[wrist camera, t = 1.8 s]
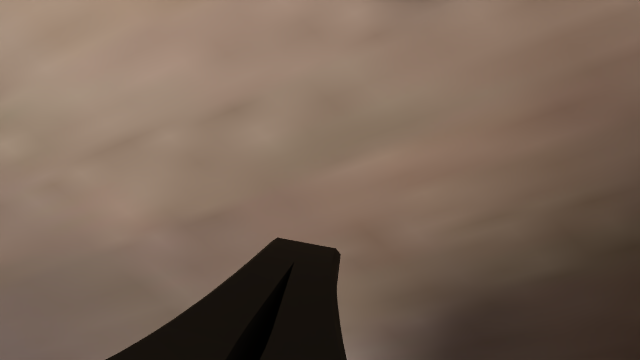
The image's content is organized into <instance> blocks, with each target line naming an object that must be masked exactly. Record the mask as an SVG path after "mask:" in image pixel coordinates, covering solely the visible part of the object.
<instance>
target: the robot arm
mask: <svg viewBox="0 0 640 360" xmlns="http://www.w3.org/2000/svg"><path fill="white" fill-rule="evenodd" d="M340 255H341V254H340V253H339V252H338V251H337V249H336V248H330V247H325V246H319V245H314V244H309V243H303V242H298V241H293V240H287V239H282V238H276V239H275V240H273V241H272V242H271V243H269V244H268V245H267V246H266V247H265V248H264V249H263V250H261V251H260V252H259V253H258V254H257V255H256V256H255V257H253V258H252V259H251V260H250V261H249V262H248V263H246V264H245V265H244V266H243V267H242V268H241V269H239V270H238V271H237V272H236V273H235V274H233V275H232V276H231V277H230V278H228V279H227V280H226V281H224V282H223V283H222V284H221V285H219V286H218V287H217V288H216V289H214V290H213V291H212V292H211V293H209V294H208V295H207V296H205V297H204V298H203V299H201V300H200V301H198V302H197V303H196V304H194V305H193V306H191V307H190V308H189V309H187V310H186V311H184V312H183V313H181V314H180V315H179V316H177V317H176V318H174V319H173V320H172V321H170V322H169V323H167V324H165V325H164V326H162V327H161V328H159V329H158V330H156V331H155V332H153V333H151V334H150V335H148V336H147V337H145V338H143V339H142V340H140V341H138V342H137V343H135V344H133V345H131V346H130V347H128V348H126V349H125V350H123V351H121V352H119V353H117V354H116V355H114V356H112V357H110V358H108V359H106V360H347V359H346V354H345V349H344V344H343V339H342V333H341V327H340V319H339V311H338V303H337V280H338V272H339V264H340Z"/></svg>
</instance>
